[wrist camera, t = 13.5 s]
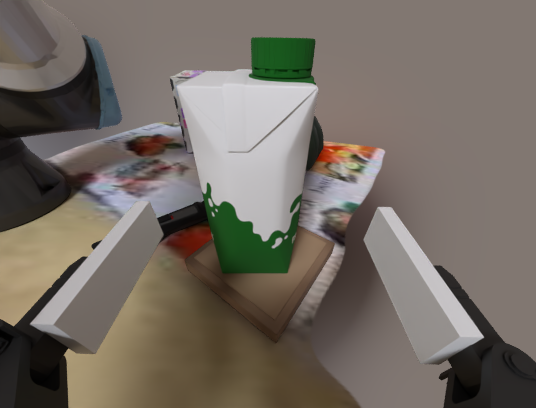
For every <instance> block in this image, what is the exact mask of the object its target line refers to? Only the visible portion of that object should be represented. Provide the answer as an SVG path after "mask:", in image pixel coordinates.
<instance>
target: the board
mask: <svg viewBox="0 0 536 408" xmlns="http://www.w3.org/2000/svg"><path fill="white" fill-rule="evenodd" d="M334 245H335V243H333V242H331V241H329V240H327V239H324V238H322V237H320V236H318V235H316V234H314V233H312V232H310V231H308V230H306V229H304V228H302V227H300V226H298V227H297V232H296V237H295V242H294V246H293V251H292V255H291V260H290V264H289V269H288V273H222V271H221V267H220V263H219V260H218V256H217V252H216V249H215V245H214V241H213V238H212V239H211V240H210V241H208V242H207V243H206V244H204V245H203V246H202V247H201V248H199V249H198V250H197V251H195V252H194V253H193V254H192V255H190V256H189V257H188V258H186V259H185V263H186V265H187V268H188V270H189V271H190V272H191V273H192V274H193V275H195V276H196V277H197V278H198V279H199V280H201V281H202V282H203V283H204V284H205V285H207V286H208V287H209V288H210V289H211V290H213V291H214V292H215V293H216V294H218V295H219V296H220V297H221V298H222V299H224V300H225V301H226V302H227V303H228V304H230V305H231V306H232V307H233V308H234V309H236V310H237V311H238V312H239V313H240V314H242V315H243V316H244V317H245V318H246V319H248V320H249V321H250V322H251V323H252V324H254V325H255V326H256V327H257V328H258V329H260V330H261V331H262V332H263V333H264V334H266V335H267V336H268V337H269V338H270V339H272V340H273V341H274V342H275V343H276V342H277V341H278V339H279V338H280V336H281V334H282V333H283V331H284V330H285V328H286V326H287V325H288V323H289V322H290V320H291V318H292V317H293V315H294V313H295V312H296V310H297V309H298V307H299V305H300V304H301V302H302V301H303V299H304V297H305V296H306V294H307V293H308V291H309V289H310V288H311V286H312V284H313V283H314V281H315V280H316V278H317V276H318V275H319V273H320V272H321V270H322V268H323V267H324V265H325V264H326V262H327V260H328V259H329V257H330V255H331V254H332V251H333V248H334Z"/></svg>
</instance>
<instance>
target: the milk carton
mask: <svg viewBox="0 0 536 408" xmlns="http://www.w3.org/2000/svg"><path fill="white" fill-rule="evenodd" d="M314 48H315V39H308V38H252V40H251V50H252V51H251V52H252V70H249V69H238V70H236V71H233V72H232V71H206V72H204V73H202V74H200V75H198V76H196V77H194V78H192V79H190V80H188V81H186V82H183V83H181V84H179V85H177V86H176V88H177V91H178V94H179V98H180V102H181V105H182V109H183V113H184V117H185V120H186V124H187V128H188V132H189V135H190V139H191V143H192V148H193V153H194V157H195V162H196V166H197V171H198V175H199V180H200V185H201V189H202V194H203V198H204V203H205V207H206V212H207V217H208V221H209V226H210V230H211V234H212V238H213V241H214V245H215V249H216V252H217V256H218V260H219V263H220V267H221V271H222V273H288V269H289V264H290V260H291V255H292V251H293V246H294V242H295V237H296V232H297V227H298V220H299V213H300V206H301V199H302V192H303V185H304V178H305V171H306V164H307V157H308V150H309V143H310V137H311V131H312V125H313V119H314V113H315V107H316V101H317V95H318V87H317V86H316V83H315V82H314V78H313V76H311V71H312V65H313V57H314Z"/></svg>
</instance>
